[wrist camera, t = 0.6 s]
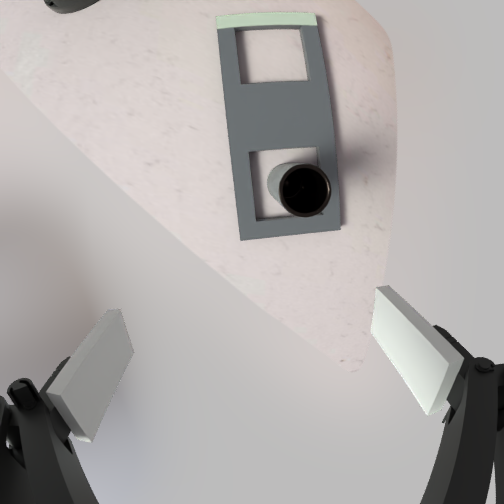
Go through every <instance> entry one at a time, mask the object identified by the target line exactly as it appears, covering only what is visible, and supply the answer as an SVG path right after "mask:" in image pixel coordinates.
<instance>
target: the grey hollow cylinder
mask: <svg viewBox="0 0 504 504" xmlns="http://www.w3.org/2000/svg"><path fill="white" fill-rule="evenodd" d="M267 187H268V190H269V192H270V194H271V195H272V196H273V197H274V198H275V199H276V200H277V201H278V202H279V203H280V204H281V205H282V206H283V207H284V208H285V209H286V210H287V211H288V212H289V213H291V214H292V215H294V216H297V217H301V218H308V217H313V216H315V215H317V214H319V213H321V212H322V211H323V210H324V209H325V208H326V207H327V205H328V203H329V201H330V198H331V193H332V189H331V183H330V180H329V178H328V176H327V175H326V173H325V172H324V171H323V170H322V169H320V168H319V167H317V166H315V165H312V164H307V163H293V164H281V165H278V166H276V167H275V168H274V169H273V170H272V171H271V172H270V174H269V176H268V179H267Z"/></svg>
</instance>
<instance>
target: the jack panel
mask: <svg viewBox="0 0 504 504" xmlns="http://www.w3.org/2000/svg"><path fill="white" fill-rule="evenodd" d="M216 23H217V33H218V43H219V53H220V63H221V72H222V82H223V91H224V101H225V110H226V119H227V128H228V137H229V146H230V155H231V164H232V172H233V181H234V190H235V198H236V207H237V215H238V224H239V232H240V240H241V241H243V240H252V239H261V238H270V237H279V236H288V235H297V234H306V233H316V232H325V231H335V230H341V228H340V202H339V184H338V170H337V158H336V147H335V136H334V127H333V119H332V111H331V103H330V96H329V89H328V82H327V76H326V70H325V64H324V58H323V53H322V48H321V42H320V37H319V33H318V28H317V21H316V16H315V13H300V12H264V13H245V14H233V15H223V16H216ZM265 29H299V30H300V35H301V41H302V46H303V52H304V58H305V64H306V70H307V77H308V81H286V82H265V83H252V84H241V81H240V72H239V64H238V55H237V47H236V38H235V31H247V30H265ZM308 147H316V149H317V160H318V167H319V168H320V169H322V170H323V171H324V172H325V173H326V175H327V176H328V178H329V180H330V183H331V189H332V193H331V198H330V201H329V203H328V205H327V207H326V208H325V209H324V210H323V211H322V212H321V213H319V214H317V215H315V216H313V217H308V218H301V217H297V216H287V217H278V218H268V219H259V220H256V217H255V207H254V198H253V188H252V179H251V170H250V161H249V152H255V151H265V150H277V149H291V148H308Z"/></svg>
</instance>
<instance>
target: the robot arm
mask: <svg viewBox="0 0 504 504" xmlns="http://www.w3.org/2000/svg"><path fill="white" fill-rule="evenodd" d="M97 1H98V0H44V2H45V4H46V5H47V6H48V7H49V8H50V9H52V10H53V11H55V12H57V13H61V14H66V13H72V12H76V11H78V10H81V9H83V8H86V7H88V6H90V5H91V4H93V3H95V2H97ZM371 333H372V335H373V336H374V338H375V339H376V341H377V342H378V343H379V345H380V346H381V348H382V349H383V351H384V352H385V353H386V355H387V356H388V357H389V359H390V361H391V362H392V364H393V365H394V366H395V368H396V369H397V371H398V372H399V374H400V375H401V377H402V378H403V380H404V381H405V383H406V384H407V386H408V387H409V389H410V390H411V392H412V393H413V395H414V396H415V398H416V399H417V401H418V402H419V404H420V405H421V407H422V409H423V410H424V412H425V413H426V415H427V416H428V415H431V414H433V413H436V412H438V411H440V410H442V408H443V406H444V404H445V402H446V400H447V401H448V402H449V403H450V405H451V406H450V408H449V410H448V412H447V413H446V415H445V417H444V419H443V421H442V423H444V422H445V420H446V423H445V427H444V431H443V435H442V440H441V444H440V447H439V451H438V454H437V457H436V461H435V464H434V467H433V470H432V473H431V476H430V479H429V482H428V485H427V487H426V490H425V493H424V495H423V498H422V500H421V503H420V504H485V503H486V499H487V494H488V490H489V485H490V480H491V474H492V468H493V462H494V467H495V483H496V504H504V364H498V365H495V364H494V363H493V362H492V361H491V360H489V359H487V358H484V357H477V358H474V357H473V356H472V355H471V354H470V353H469V352H468V351H467V350H466V349H465V348H464V347H463V346H462V345H461V344H460V343H459V342H457V340H456V339H455V338H454V337H452V336H451V335H450V334H449V333H448V332H447V331H446V330H445V329H443V328H441V327H439V326H437V325H435V326H431V324H430V323H429V322H427V321H426V320H425V319H424V318H423V317H422V316H421V315H420V314H419V313H418V312H417V311H416V310H415V309H414V308H413V307H411V305H410V304H408V303H407V302H406V301H405V300H404V299H403V298H402V297H401V296H400V295H399V294H397V293H396V292H395V291H394V290H393V289H392V288H391V287H390V286H389V285H388V286H382V287H376V293H375V302H374V311H373V319H372V326H371ZM133 353H134V351H133V348H132V344H131V341H130V338H129V335H128V332H127V329H126V326H125V322H124V319H123V316H122V312H121V309H108V310H107V311H106V313H105V314H104V315H103V316H102V318H101V319H100V320H99V321H98V323H97V324H96V325H95V326H94V328H93V329H92V330H91V332H90V333H89V334H88V335H87V337H86V338H85V339H84V340H83V342H82V343H81V344H80V346H79V347H78V348H77V350H76V351H75V352H74V354H73V355H72V356H71V357H68V358H66V359H65V360H63V361H62V362H61V363H60V364H59V366H58V367H57V368H56V371H54V372H53V374H52V377H50V378H49V379H48V381H47V382H46V383H45V385H44V386H43V388H42V389H41V390H40V392H39V393H38V391H37V389H36V388H35V386H34V384H33V383H32V381H31V380H30V379H27V378H21V379H18V380H16V381H14V382H13V383H12V384H11V385H10V386H9V388H8V390H7V394H8V395H9V397H10V398H11V400H12V401H13V403H14V405H8V403H7V402H6V400H5V399H4V397H2V396H0V504H99V503H98V501H97V499H96V497H95V495H94V493H93V491H92V489H91V487H90V485H89V483H88V481H87V478H86V476H85V474H84V472H83V469H82V467H81V465H80V462H79V460H78V457H77V455H76V452H75V449H74V447H73V444H72V441H71V440H70V439H69V437H68V436H69V433H70V431H72V433H73V434H74V436H75V437H76V438H77V439H78V440H82V441H86V442H91V443H92V442H93V439H94V437H95V435H96V432H97V430H98V428H99V426H100V423H101V421H102V419H103V417H104V414H105V412H106V410H107V408H108V406H109V403H110V401H111V399H112V397H113V394H114V393H115V391H116V388H117V386H118V384H119V382H120V380H121V378H122V375H123V374H124V372H125V369H126V368H127V366H128V364H129V362H130V360H131V358H132V356H133ZM6 440H7V441H8V443H9V448H7V446H6Z"/></svg>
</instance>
